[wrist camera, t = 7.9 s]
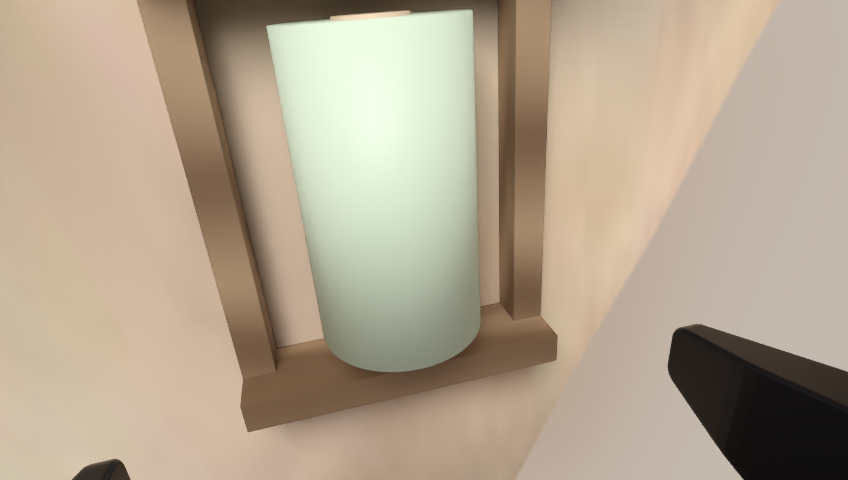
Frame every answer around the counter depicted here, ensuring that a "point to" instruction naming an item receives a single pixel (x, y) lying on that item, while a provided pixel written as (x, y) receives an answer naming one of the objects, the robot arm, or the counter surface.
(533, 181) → the holder
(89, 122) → the counter surface
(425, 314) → the roll
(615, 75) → the counter surface
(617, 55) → the counter surface
